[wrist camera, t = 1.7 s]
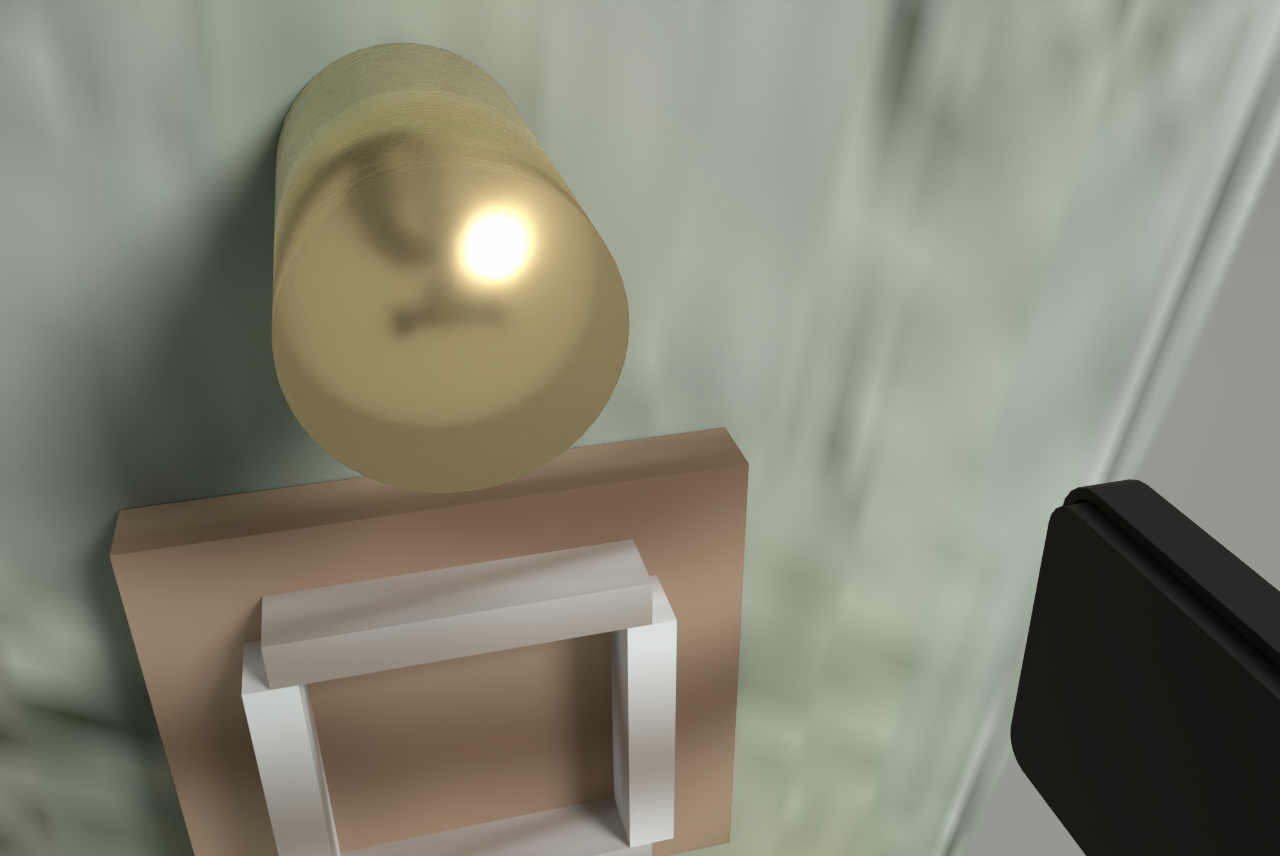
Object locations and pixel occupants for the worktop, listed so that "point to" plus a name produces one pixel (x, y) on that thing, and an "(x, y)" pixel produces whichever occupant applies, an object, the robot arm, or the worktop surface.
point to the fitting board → (451, 658)
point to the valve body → (435, 277)
